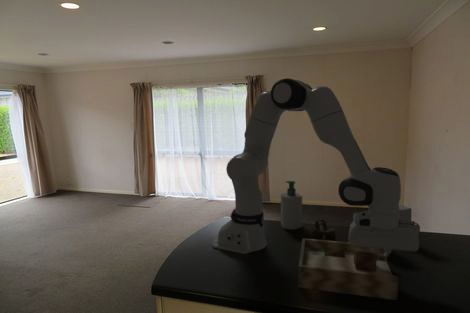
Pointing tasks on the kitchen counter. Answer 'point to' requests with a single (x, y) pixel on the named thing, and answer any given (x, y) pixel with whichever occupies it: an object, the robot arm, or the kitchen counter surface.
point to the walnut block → (365, 259)
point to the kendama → (323, 231)
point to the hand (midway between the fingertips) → (381, 260)
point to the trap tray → (343, 271)
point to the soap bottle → (291, 208)
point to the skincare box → (404, 213)
